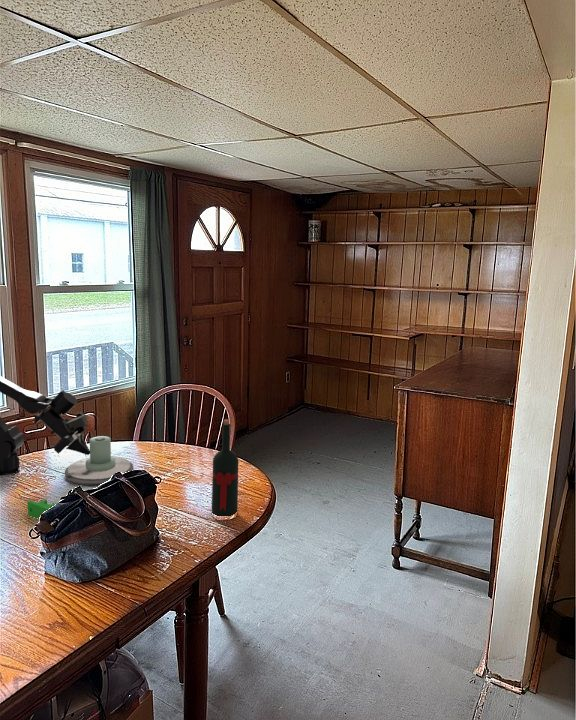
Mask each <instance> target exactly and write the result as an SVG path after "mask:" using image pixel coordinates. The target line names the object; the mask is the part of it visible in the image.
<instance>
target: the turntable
mask: <svg viewBox="0 0 576 720" xmlns="http://www.w3.org/2000/svg"><path fill="white" fill-rule="evenodd" d="M111 457H114V458H115V467H114V468H112V469H109V470H106V471H90V470H87V469H86V460H87V459H89V458H90V456H89V457H85V458H82V459H79V460H76V461H74V462H73V463H70V465H69V466H67V467H66V468H65V470H64V478H65V480H66V482H68V483H70V484H72V485H76V486H80V485H82V486H81V487H99V486H98V485H100V484H102V483H104V482H106V481H108V480H109V479H110V478H111V476H112V475H113V474H114V473H116V472H122V473H125V472H128V471H132V470H133V471H134V464H133V463H132V461H129V460H128V459H127V458H124V457H120V456H115V455H111Z"/></svg>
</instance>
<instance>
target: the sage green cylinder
mask: <svg viewBox="0 0 576 720" xmlns="http://www.w3.org/2000/svg"><path fill="white" fill-rule="evenodd" d="M111 439H112V438H111V437H110V436H106V435H105V436H104V435H101V436H100V435H98V436H94V437H91V438H89V450H90V454H89V457H90V458H89V457H88V458H89V459H87V460H86V469H87V470H90V471H106V470H109V469H112V468H114V467H115V458H114V457H111V456H112V446H111V445H112V443H111V441H112V440H111Z"/></svg>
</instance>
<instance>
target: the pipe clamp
mask: <svg viewBox="0 0 576 720" xmlns="http://www.w3.org/2000/svg"><path fill="white" fill-rule="evenodd" d="M55 504H57V505H58V503H57V502H56V503H51V504H50V503H49V504H48V500H47V499H43V500H41V501H39V502H36V501H33V500H28V501H27V502H26V505H27V516H28V515H29V516H28V517H30V516H32V517H31V518H33V517H35V518H38V519H39V517H40V515H41V514H42V513H43V512H44V511H46V510H48V509H49V508H51V507H52V506H54V505H55ZM35 518H34V519H35ZM38 519H37V520H38Z"/></svg>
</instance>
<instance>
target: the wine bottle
mask: <svg viewBox="0 0 576 720" xmlns="http://www.w3.org/2000/svg"><path fill="white" fill-rule="evenodd" d="M221 445H222V447H221V448H222V449H220V450H219V451H217V452H216V454H215V455H214V456H213V458H212V479H211V480H212V483H211V486H212V487H211V488H212V489H211V514H212V513H213V514H215V515H217V516H231V515H233V514H235V513H236V512H237V513H238V510H239V509H238V506H239V504H238V503H239V501H238V498H239V497H238V495H239V458H238V456H237V455H238V454H236V453H235V452H234V451H233V450H231V447H230V446H231V423H230V419H228V418H225V419H223V423H222V441H221Z"/></svg>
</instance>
